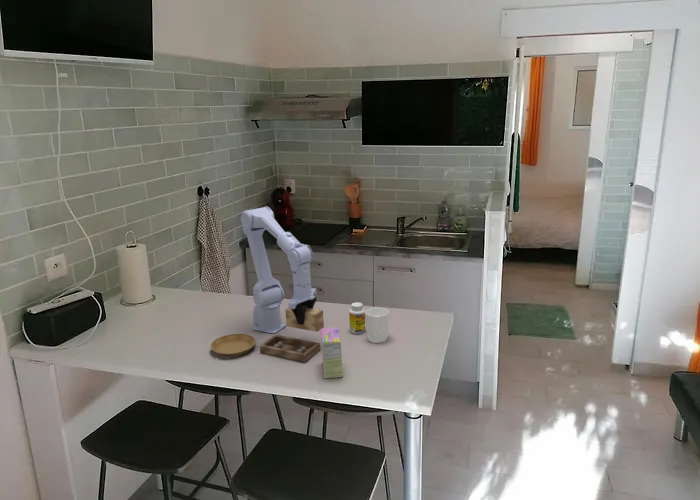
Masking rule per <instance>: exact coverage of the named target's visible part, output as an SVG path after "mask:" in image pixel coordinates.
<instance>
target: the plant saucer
mask: <svg viewBox="0 0 700 500" xmlns="http://www.w3.org/2000/svg"><path fill="white" fill-rule="evenodd" d="M256 341H257V340H256V338H255V337H254V336H252V335H250V334H247V333H232V334H231V333H230V334H226V335H223V336H220V337H218V338H216V339H215V340H213V341H212V342H211V343H210V350H212V352H214V353H215V354H216V355H219V356H220V357H223V358H235V357H240V356H243V355H245V354H247V353H248V352H250V350H251V349H252V348H253V347H254V346H255V344H256Z"/></svg>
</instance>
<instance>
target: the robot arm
mask: <svg viewBox="0 0 700 500" xmlns="http://www.w3.org/2000/svg"><path fill="white" fill-rule="evenodd" d="M240 222H241V227H242V230H243V234H244V235H246V237H247V242H248V245H249V251H250V253H251V257H252V261H253V265H254V266H253V267H254V269H255V274H256V278H257V282H256V283H255V284H254V285H253V287H252V292H253V296H252V297H253V302H254V304H255V305H254V307H253V310H252V318H253V328H252V330H254V331H258V332H261V333H262V332H264V333H269V334H272V335H276V334H277V333H278V332H279V331H281V330H283V328H285V327H287V324H286V323H282V317H281V315H282V314H281V305H282V301H284V299H285V291H284V289H283V287H282V285H281V283H280V281H279V280H278V279H276V278H274V277H273V274H272V270H271V265H270V261H269V257H268V253H267V250H266V245H265V242H264V239H263V238H264V237H263V234H264V232H265V231H267V232H269V234H271V235H272V236H273V237H274V238H275V239H276V244H277V246H279V248H280V249H281V250H282V251H283V252H284V253H285V254H286V256H287V257H286V258H287V260H288V262H289V263H288V264H289V267H290V270H291V271H292V283H293V284H292V285H293V287H292V288H293V296H292V298H291V299H290V301H289V302H288V303H287V304H288V308H290V309H291V310H292V311H293V313H294V315H295V317H296V320H297V323H298V324H301V325H303V324H304V321H305V310H306V308H312V309H314V306H315V304H316V302H317V297H316V296H315V295H317V294H318V293H317V288H316V287H315V288H314V287H312V281H311V280H312V279H311V265H310V264H311V262H313V259H314V252H313V250H312V248H311V246H310V245H309V244H304V243H301V242H300V241H299V240H298V239H297V238H296V237H295V236H294V235H293V234H292V233H291V232H290V231H285V230H284V229H283V228H282V226H281V225H280V224H279V223H278V221H277V220H276V219H275V214H274V211H273V210H272V209H271V208H270V207H269V206H264V207H259V208H254V209H247V210H243V211H242V213H241V215H240Z"/></svg>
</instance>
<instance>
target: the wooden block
mask: <svg viewBox="0 0 700 500" xmlns="http://www.w3.org/2000/svg"><path fill="white" fill-rule="evenodd" d="M285 321H286V323H285V324H286V327H290V328H293V329H300V330H305V331H311V332H315V333H316V332H321V329H322V328H324V327H325V326H324V325H325V323H324V322H325V321H324V310H321V309H317V308H313V309H312V308H306V310H305V321H304V324H303V325H301V324H298V323H297V320H296V317H295V315H294V313H293V311H292V310H291V309H290V308H289V307H287V308H286V309H285Z"/></svg>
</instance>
